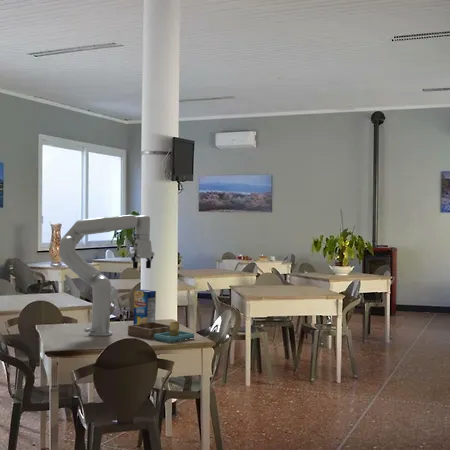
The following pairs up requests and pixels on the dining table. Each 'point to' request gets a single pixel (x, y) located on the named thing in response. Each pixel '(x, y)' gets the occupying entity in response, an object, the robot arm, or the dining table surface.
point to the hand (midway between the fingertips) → (141, 268)
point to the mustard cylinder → (174, 328)
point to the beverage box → (144, 306)
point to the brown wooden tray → (147, 329)
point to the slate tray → (167, 337)
